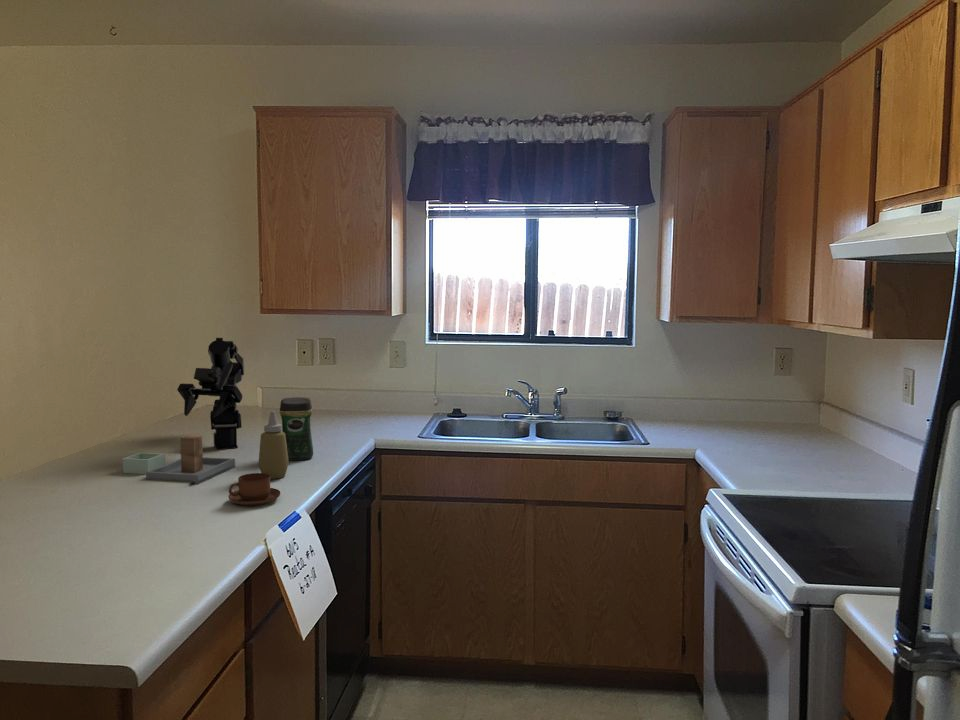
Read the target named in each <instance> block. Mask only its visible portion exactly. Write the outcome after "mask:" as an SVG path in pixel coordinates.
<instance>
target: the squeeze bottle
mask: <svg viewBox="0 0 960 720" xmlns="http://www.w3.org/2000/svg"><path fill="white" fill-rule="evenodd" d="M259 442H260V443H259V453H258V454H259V455H258V464H257V465H258V466H257V467H259V471H260V473H265V474H269V475H270V480H276V479H281V478H283V477H284V478H285V476H286V473H287V471H288V467H289V464H290V463H289V461H290V460H288V452H287V444H286V436H285V433H284V432H282V423H278V419H277V415H276V411H273V410H271V411H270V413H269V418H268V423H265V424H264V425H263V432H262V433H261V434H260V441H259Z"/></svg>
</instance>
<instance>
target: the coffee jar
mask: <svg viewBox="0 0 960 720" xmlns="http://www.w3.org/2000/svg"><path fill="white" fill-rule="evenodd" d="M312 414H313V407H312V401H311V398H310V397H304V396H301V397H300V396H298V397H297V396H294V397H285V398H282V399H281V400H280V405H279V415H280V418H281V425H282V432H284V433H285V436H286V444H287V452H288V461H301V460H303V461H304V460H308V459H312V458H313V456H314V445H313V440H312V429H311V416H312Z"/></svg>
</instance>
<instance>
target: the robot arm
mask: <svg viewBox="0 0 960 720" xmlns="http://www.w3.org/2000/svg"><path fill="white" fill-rule="evenodd" d="M207 351H208V356H209V358H210V363H211V364H212V365H211V367H210V368H207V367H195V371H194V375H193V379H194V380H196V381H198V385H199V386H201V387H196V386H195V385H194V383H186V382H185V383H184V382H182V383H179V385H178V387H177V389H176V391H177V392H178V393H179V395H180V396H181V398H182V399H183V400H184V413H183V414H184V416H185V417H188V415H189V414H190V413H191V412H192V410H193V408H194V407H195V405H196V404H197V400H198V399H199V397H200V396H209V397H219V398H218V399H215V400H213V401H214V402H213V408H212V410H210V412H209V413H210V414H209V415H210V416H209V418H210V429H211V430H212V431H213V430H215V432H213V434H212V435H213V437H212V438H213V447H214V448H215V449H216V450H223V449H224V450H225V449H237V448H238V447H239V446H238V442H237V441H238V440H237V439H238V438H237V437H238V436H237V435H238V434H237V433H238V432H237V431H238V429H242V426H243V425H242V414H241V413H240V411H239V410H240V409H238V408H237V404H240V403H241V402H242V400H243V394H242V392H241V390H240V389H239V386H237V384H238V383H240V382H241V381H242V378H243V376H244V375H245V363H244V358H243V357H242V355H240V354H239V348H238V346H237V344H235V342H234V341H233V340H224V338H223V337H216V338H215V340H212V342H211V343H210V344H209V345H208V348H207ZM232 360H235V361H232Z"/></svg>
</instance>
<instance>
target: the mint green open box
mask: <svg viewBox="0 0 960 720" xmlns="http://www.w3.org/2000/svg"><path fill="white" fill-rule="evenodd" d="M163 465H166V456H165V453H156V452H138V453H136V454H132V455H128V456H127V457H124V458H122V470H123V471H122V473H123V474H124V473H125V474H135V475H137V474H139V475H140V474H141V475H142V474H143V475H146V472H148V471H150V470H153V469H155V468H158V467H161V466H163Z"/></svg>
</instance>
